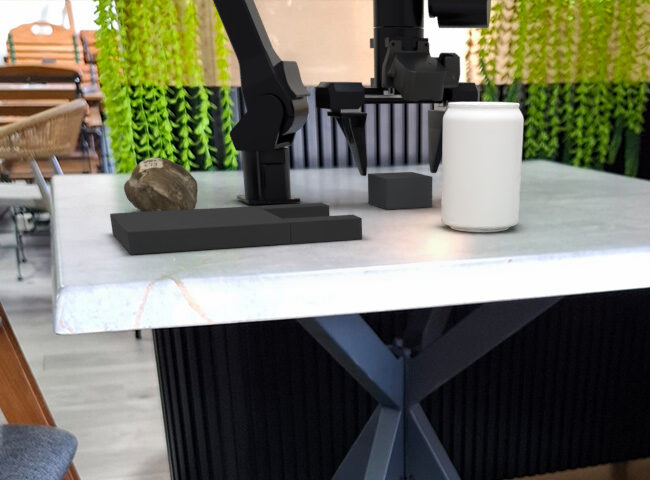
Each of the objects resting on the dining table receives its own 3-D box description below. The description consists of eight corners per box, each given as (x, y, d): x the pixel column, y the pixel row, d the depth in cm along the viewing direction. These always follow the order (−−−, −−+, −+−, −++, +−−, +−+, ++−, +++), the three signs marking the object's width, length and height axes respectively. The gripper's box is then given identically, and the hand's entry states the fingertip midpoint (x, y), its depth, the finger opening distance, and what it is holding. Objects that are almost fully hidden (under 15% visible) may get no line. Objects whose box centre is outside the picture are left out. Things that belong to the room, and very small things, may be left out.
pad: (368, 203, 111) (367, 173, 109) (412, 201, 113) (412, 171, 112) (386, 209, 106) (386, 178, 104) (432, 207, 108) (432, 176, 107)
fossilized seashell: (123, 186, 104) (111, 213, 96) (147, 135, 102) (136, 158, 93) (184, 219, 107) (177, 248, 99) (208, 170, 105) (203, 196, 97)
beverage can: (460, 235, 90) (463, 104, 84) (429, 223, 96) (430, 101, 91) (531, 231, 92) (539, 104, 87) (496, 219, 99) (501, 101, 94)
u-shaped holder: (112, 234, 89) (109, 213, 88) (322, 221, 97) (321, 202, 96) (130, 255, 79) (127, 231, 78) (362, 239, 87) (362, 217, 87)
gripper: (345, 23, 91) (349, 184, 98) (505, 27, 98) (499, 178, 105) (311, 27, 100) (317, 174, 107) (460, 31, 107) (456, 169, 114)
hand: (399, 174), depth 108 cm, fingers open, 9 cm apart
